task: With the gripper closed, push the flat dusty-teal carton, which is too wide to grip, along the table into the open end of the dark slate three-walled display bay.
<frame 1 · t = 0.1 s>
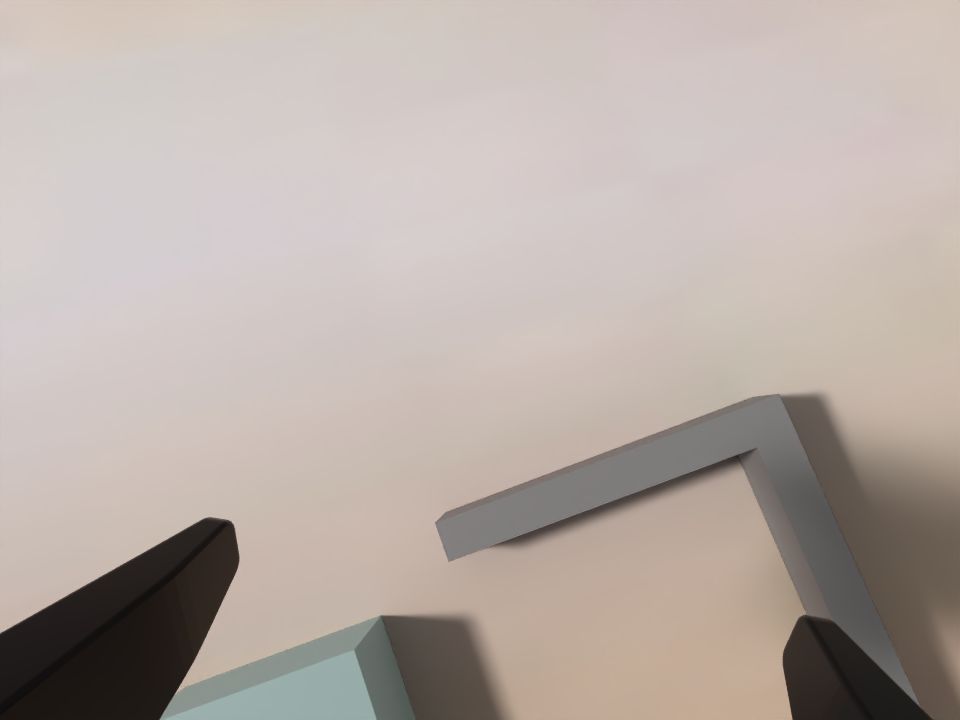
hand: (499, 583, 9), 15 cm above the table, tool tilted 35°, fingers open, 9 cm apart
display bay: (661, 667, 23), on the table
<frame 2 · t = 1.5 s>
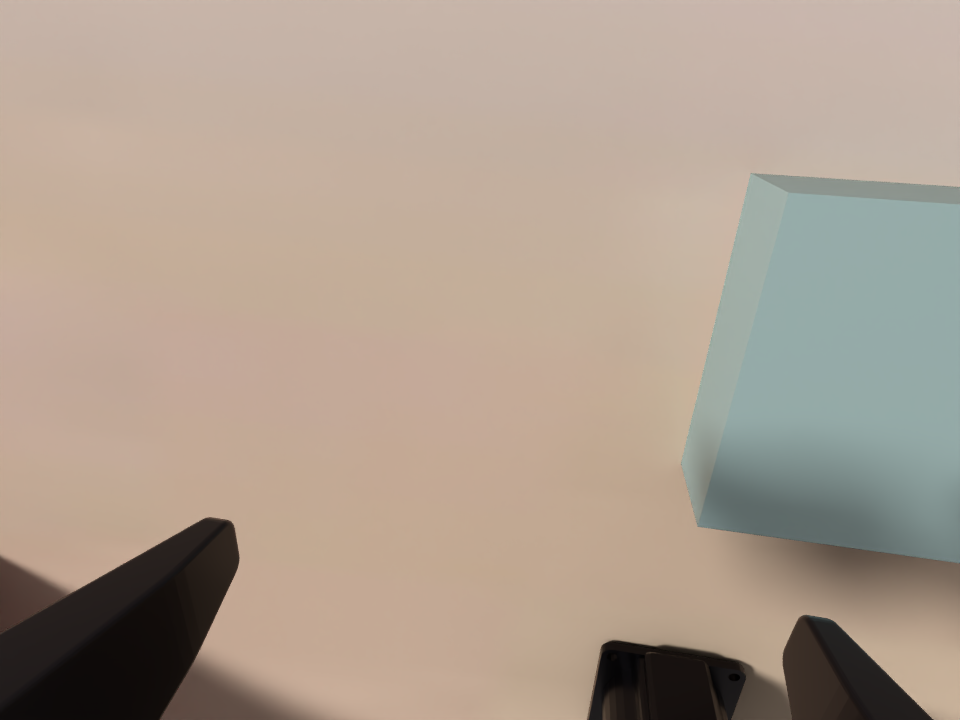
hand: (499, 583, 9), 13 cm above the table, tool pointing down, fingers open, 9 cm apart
teal carton: (843, 345, 20), on the table
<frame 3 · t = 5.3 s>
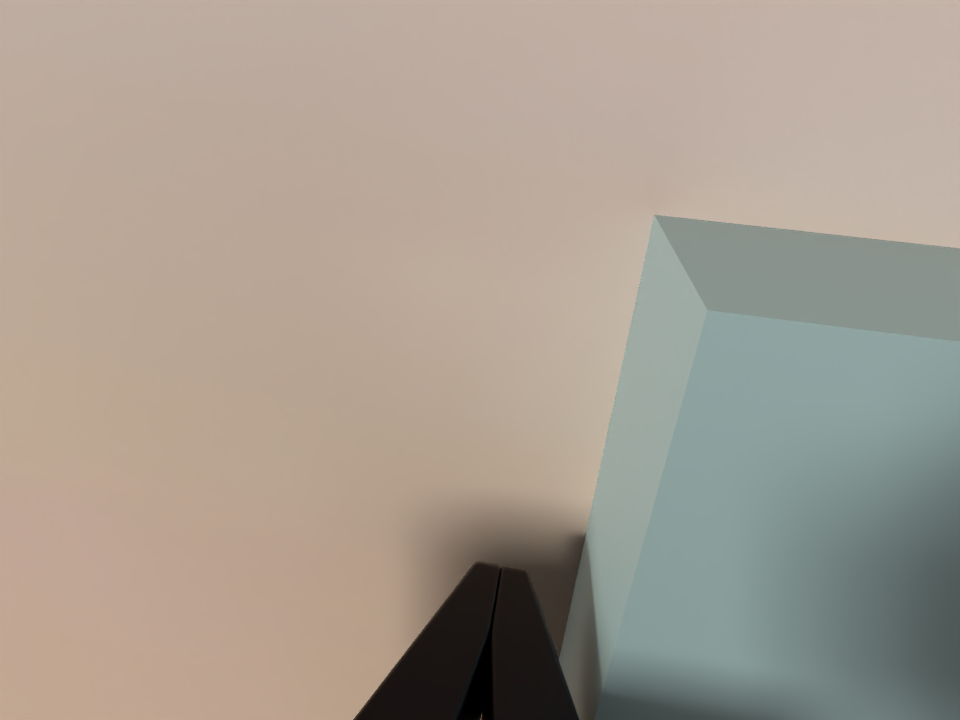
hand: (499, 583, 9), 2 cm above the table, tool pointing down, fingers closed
teal carton: (843, 549, 10), on the table, touching gripper
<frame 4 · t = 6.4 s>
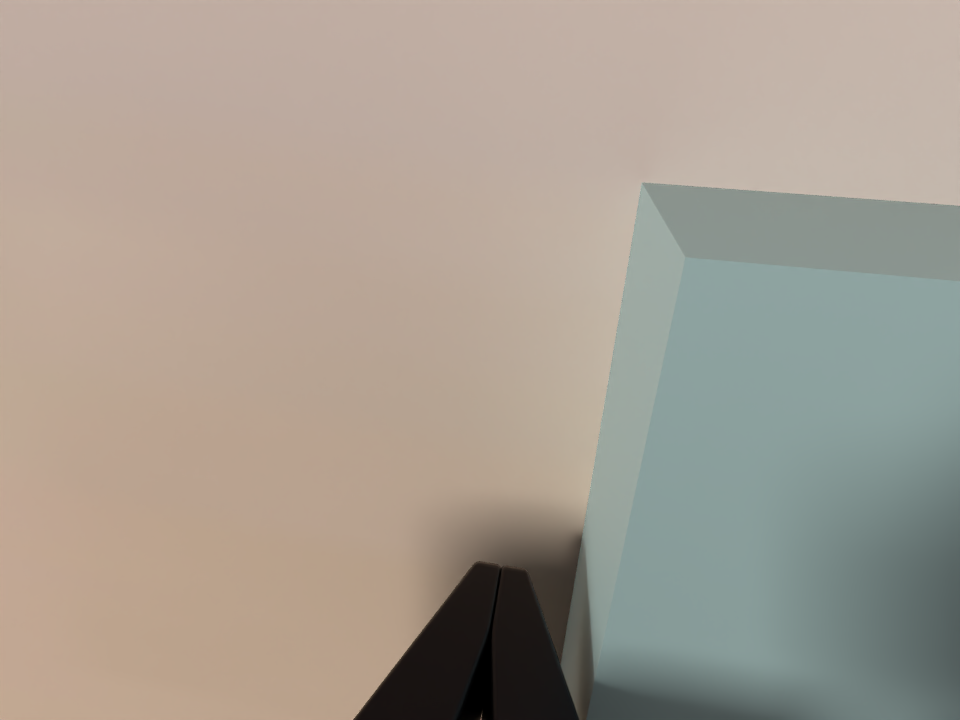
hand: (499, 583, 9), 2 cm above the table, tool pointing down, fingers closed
teal carton: (847, 521, 10), on the table, touching gripper
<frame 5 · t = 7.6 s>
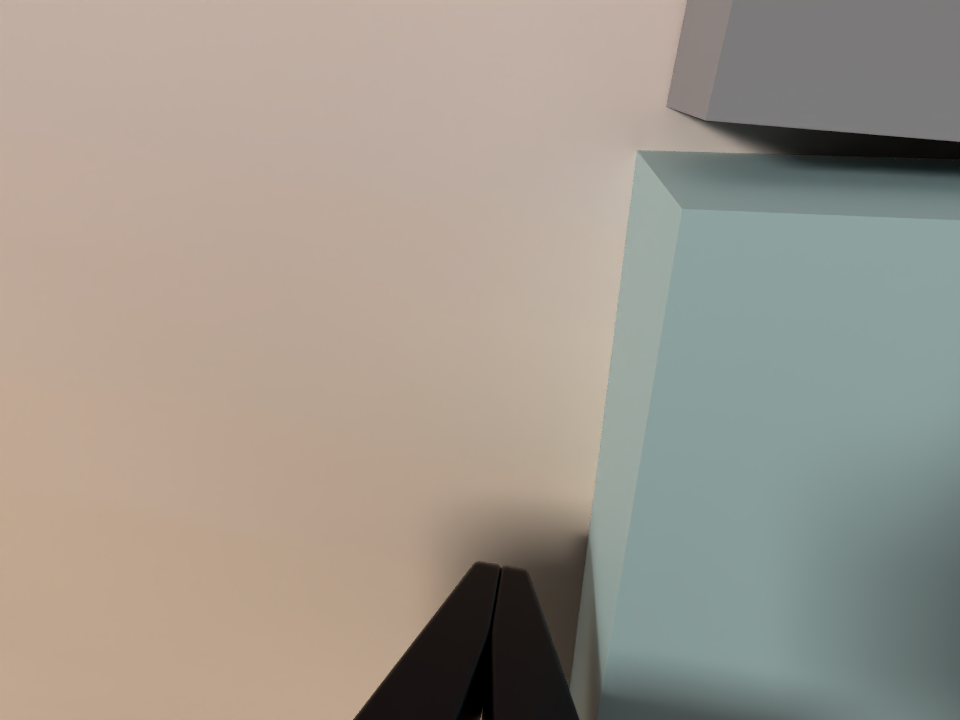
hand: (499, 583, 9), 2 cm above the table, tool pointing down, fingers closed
teal carton: (866, 502, 10), on the table, touching gripper
display bay: (939, 586, 10), on the table
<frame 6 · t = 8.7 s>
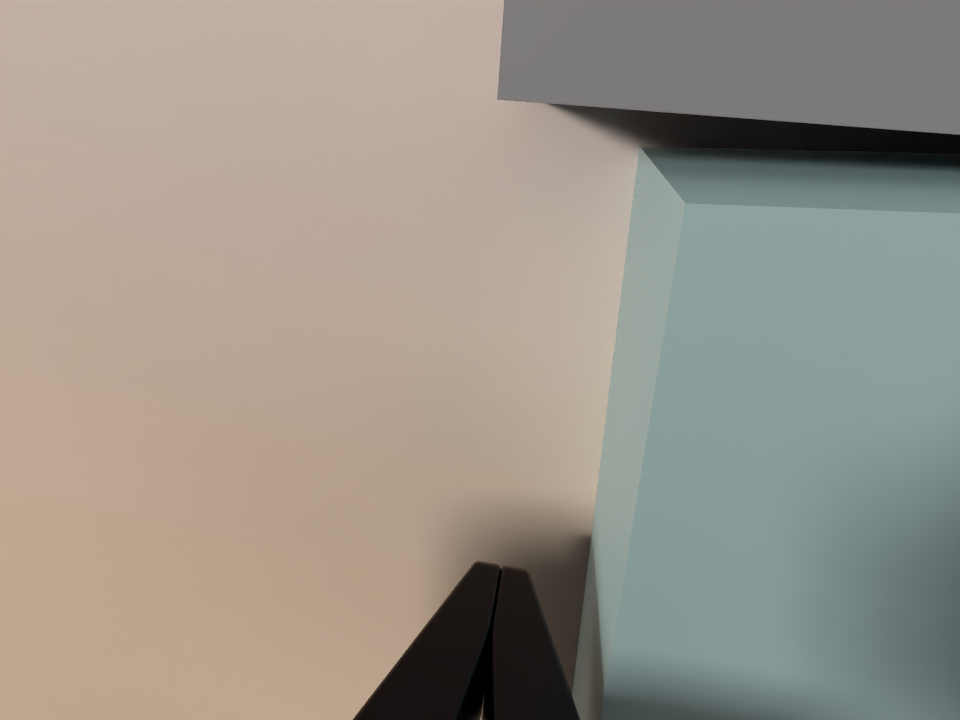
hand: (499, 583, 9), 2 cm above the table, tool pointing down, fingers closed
teal carton: (871, 500, 10), on the table
display bay: (831, 568, 10), on the table
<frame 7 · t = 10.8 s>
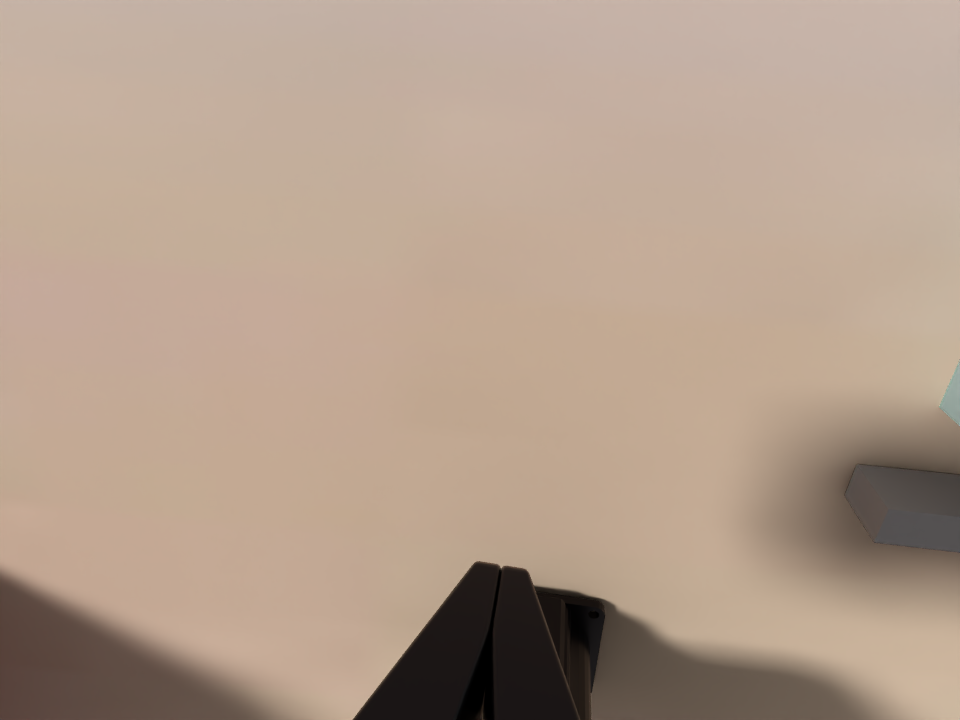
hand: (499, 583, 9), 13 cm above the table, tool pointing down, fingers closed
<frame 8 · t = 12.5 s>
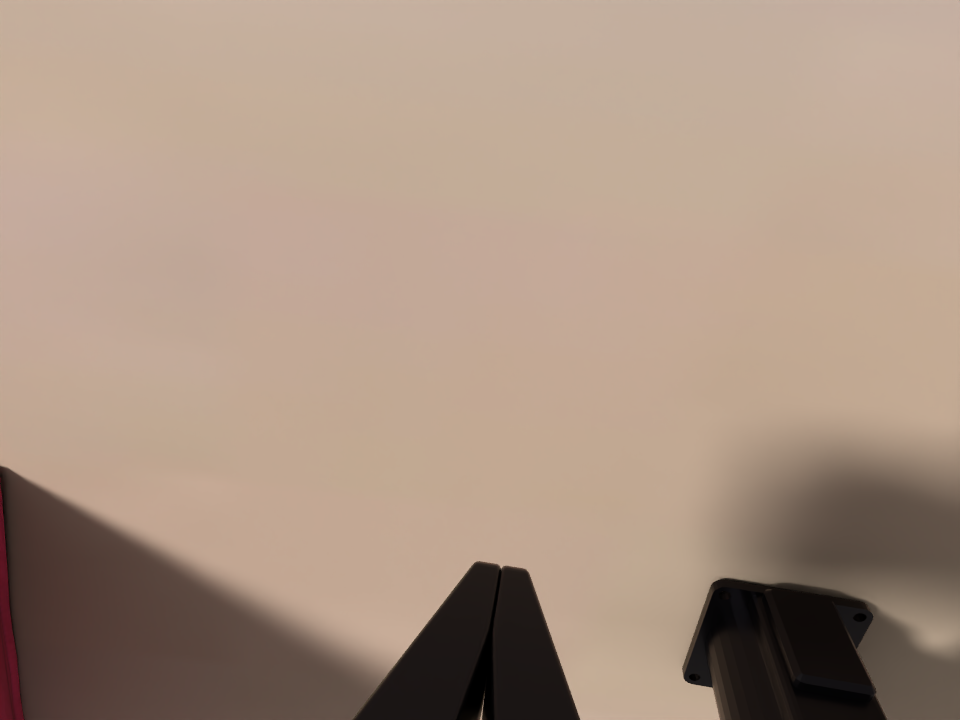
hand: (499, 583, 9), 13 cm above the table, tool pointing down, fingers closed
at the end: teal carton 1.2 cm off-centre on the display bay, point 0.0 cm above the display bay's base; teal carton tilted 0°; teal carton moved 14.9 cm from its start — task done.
